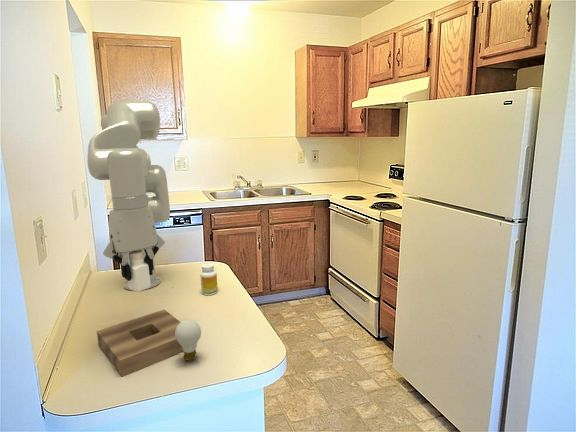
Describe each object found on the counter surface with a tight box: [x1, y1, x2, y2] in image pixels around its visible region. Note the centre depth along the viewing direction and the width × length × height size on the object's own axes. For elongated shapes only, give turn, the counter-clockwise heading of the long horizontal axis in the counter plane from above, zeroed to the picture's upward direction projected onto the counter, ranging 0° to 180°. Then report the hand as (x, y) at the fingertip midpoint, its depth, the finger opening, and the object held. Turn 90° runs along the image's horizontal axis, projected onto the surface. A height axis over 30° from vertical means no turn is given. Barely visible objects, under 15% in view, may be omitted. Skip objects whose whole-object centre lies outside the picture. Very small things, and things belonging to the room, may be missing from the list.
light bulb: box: [175, 319, 202, 361], centre depth 91 cm, size 6×6×10 cm
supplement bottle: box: [199, 263, 219, 296], centre depth 130 cm, size 5×5×10 cm
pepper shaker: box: [128, 250, 151, 293], centre depth 95 cm, size 4×4×10 cm
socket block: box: [96, 309, 184, 377], centre depth 98 cm, size 18×18×4 cm
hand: (138, 275), depth 95 cm, fingers closed on pepper shaker, 4 cm apart
